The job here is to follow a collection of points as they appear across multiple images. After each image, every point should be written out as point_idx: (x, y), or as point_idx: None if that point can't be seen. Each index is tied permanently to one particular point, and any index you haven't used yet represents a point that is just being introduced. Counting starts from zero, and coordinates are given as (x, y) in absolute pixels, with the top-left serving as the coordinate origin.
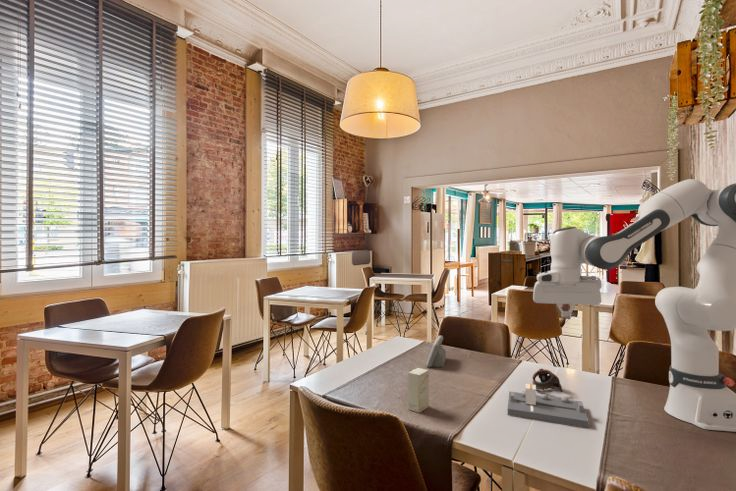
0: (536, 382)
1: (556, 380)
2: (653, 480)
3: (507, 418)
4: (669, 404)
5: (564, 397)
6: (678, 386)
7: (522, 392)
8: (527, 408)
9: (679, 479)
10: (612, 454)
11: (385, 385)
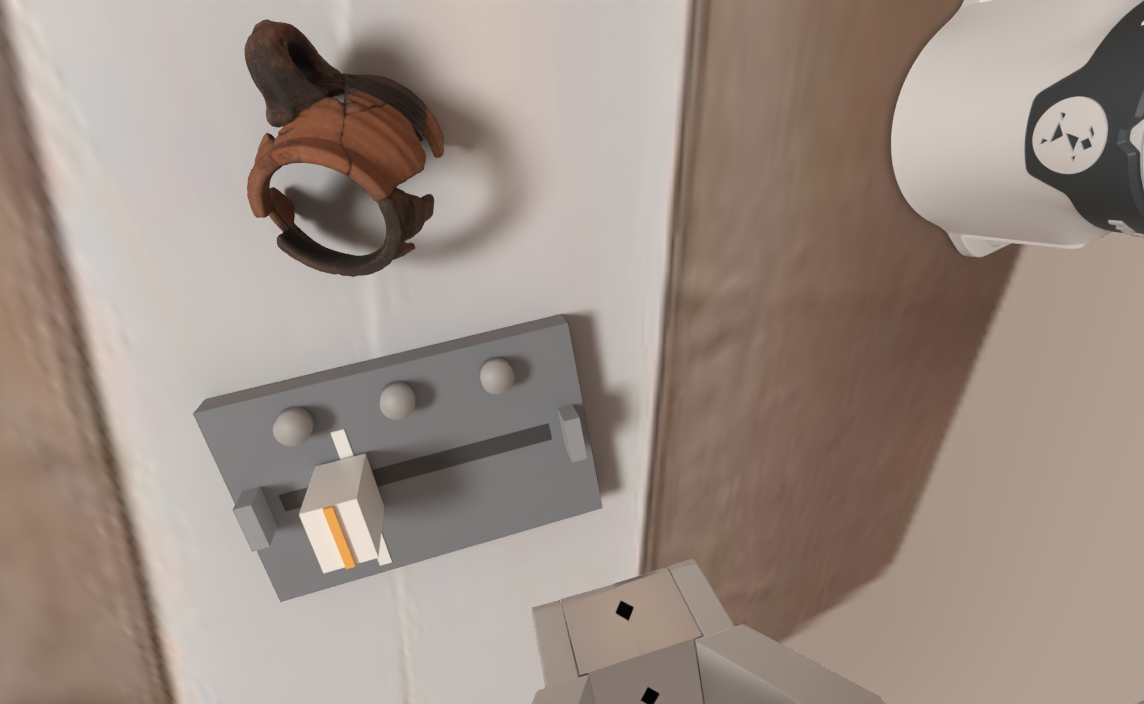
0: (301, 260)
1: (419, 211)
2: None
3: (300, 606)
4: (930, 155)
5: (493, 375)
6: (1048, 190)
7: (279, 440)
8: None
9: (796, 617)
10: None
11: None
